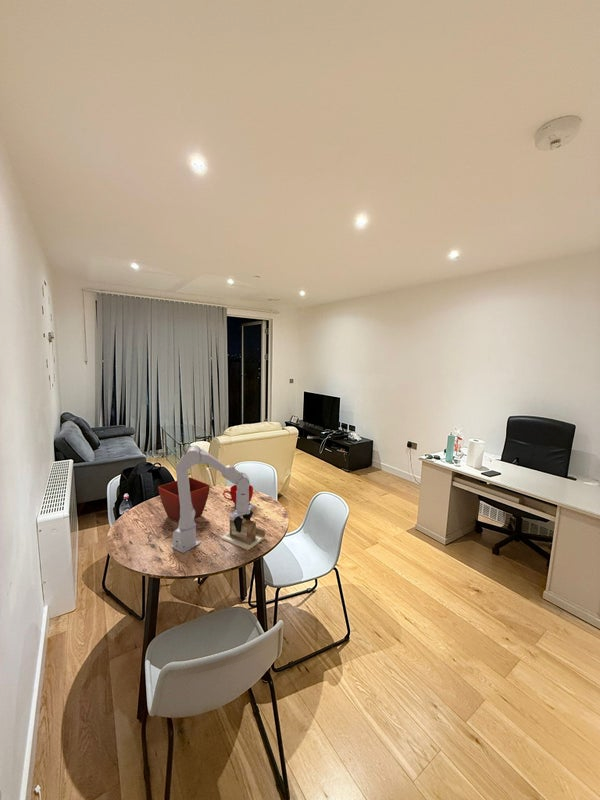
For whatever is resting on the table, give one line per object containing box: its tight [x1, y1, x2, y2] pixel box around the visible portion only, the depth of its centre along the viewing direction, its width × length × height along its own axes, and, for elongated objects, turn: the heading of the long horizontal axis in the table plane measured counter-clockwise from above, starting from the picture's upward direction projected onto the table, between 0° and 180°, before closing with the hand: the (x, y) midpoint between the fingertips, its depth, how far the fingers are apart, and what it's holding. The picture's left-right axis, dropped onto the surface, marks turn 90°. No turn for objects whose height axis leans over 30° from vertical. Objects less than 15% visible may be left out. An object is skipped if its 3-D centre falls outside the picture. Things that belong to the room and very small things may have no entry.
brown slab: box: [229, 516, 257, 543], centre depth 149 cm, size 4×12×8 cm, turn 58°
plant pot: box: [157, 476, 211, 524], centre depth 169 cm, size 19×19×17 cm
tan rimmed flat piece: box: [221, 526, 266, 551], centre depth 150 cm, size 12×16×4 cm
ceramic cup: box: [222, 484, 254, 506], centre depth 186 cm, size 13×17×10 cm
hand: (242, 529), depth 149 cm, fingers closed on brown slab, 5 cm apart
